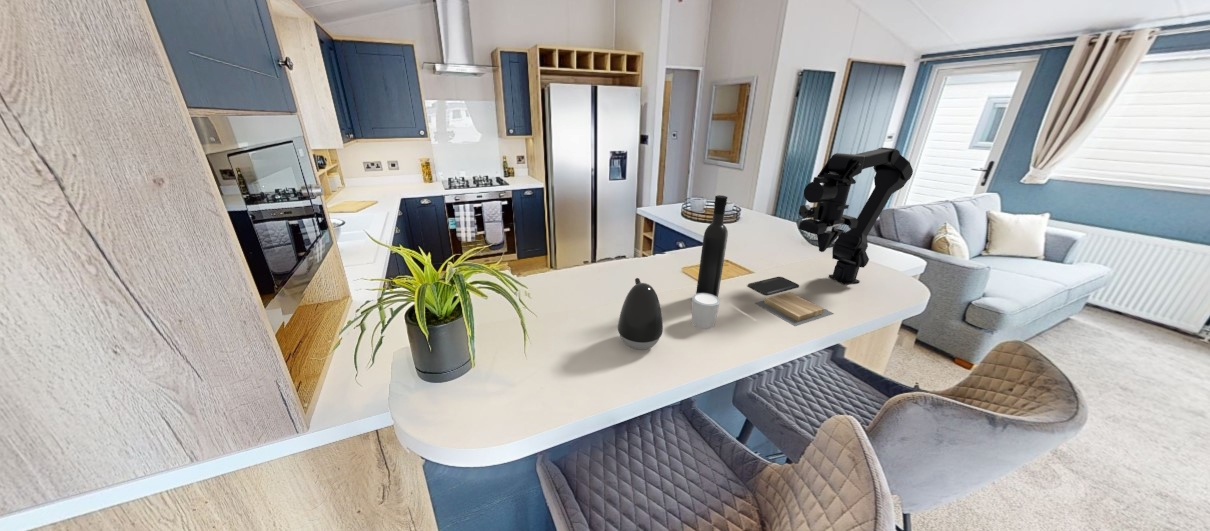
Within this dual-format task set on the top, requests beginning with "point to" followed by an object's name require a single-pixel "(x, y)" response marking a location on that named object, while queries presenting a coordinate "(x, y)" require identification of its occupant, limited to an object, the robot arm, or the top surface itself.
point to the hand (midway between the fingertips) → (821, 251)
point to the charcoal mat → (790, 320)
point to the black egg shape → (640, 317)
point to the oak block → (794, 306)
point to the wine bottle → (713, 251)
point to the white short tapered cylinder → (704, 310)
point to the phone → (773, 285)
